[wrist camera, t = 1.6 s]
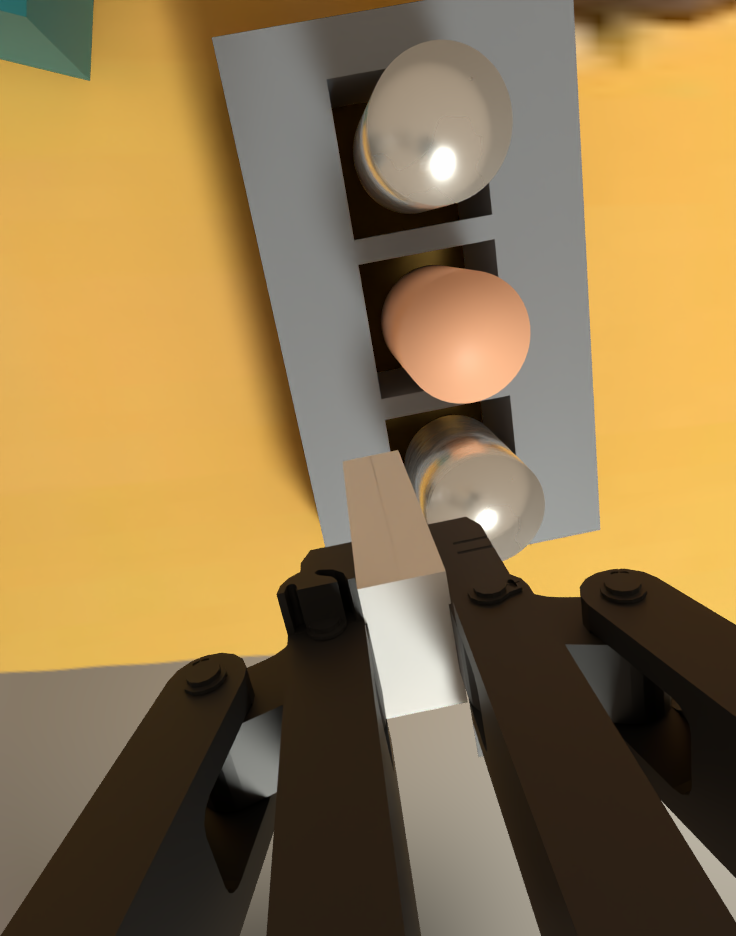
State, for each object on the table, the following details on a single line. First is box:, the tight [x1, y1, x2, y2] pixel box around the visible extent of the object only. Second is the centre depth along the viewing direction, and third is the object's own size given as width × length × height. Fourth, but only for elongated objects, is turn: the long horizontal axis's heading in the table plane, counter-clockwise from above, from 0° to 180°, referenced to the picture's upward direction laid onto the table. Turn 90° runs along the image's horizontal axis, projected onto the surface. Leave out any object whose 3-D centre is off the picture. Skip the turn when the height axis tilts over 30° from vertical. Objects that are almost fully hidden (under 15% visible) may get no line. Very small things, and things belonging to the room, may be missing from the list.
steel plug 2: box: [405, 415, 545, 561], centre depth 28 cm, size 5×5×6 cm
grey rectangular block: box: [212, 0, 600, 547], centre depth 31 cm, size 14×24×6 cm, turn 10°
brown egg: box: [381, 265, 530, 403], centre depth 26 cm, size 5×5×6 cm
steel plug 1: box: [353, 40, 513, 214], centre depth 23 cm, size 5×5×6 cm
